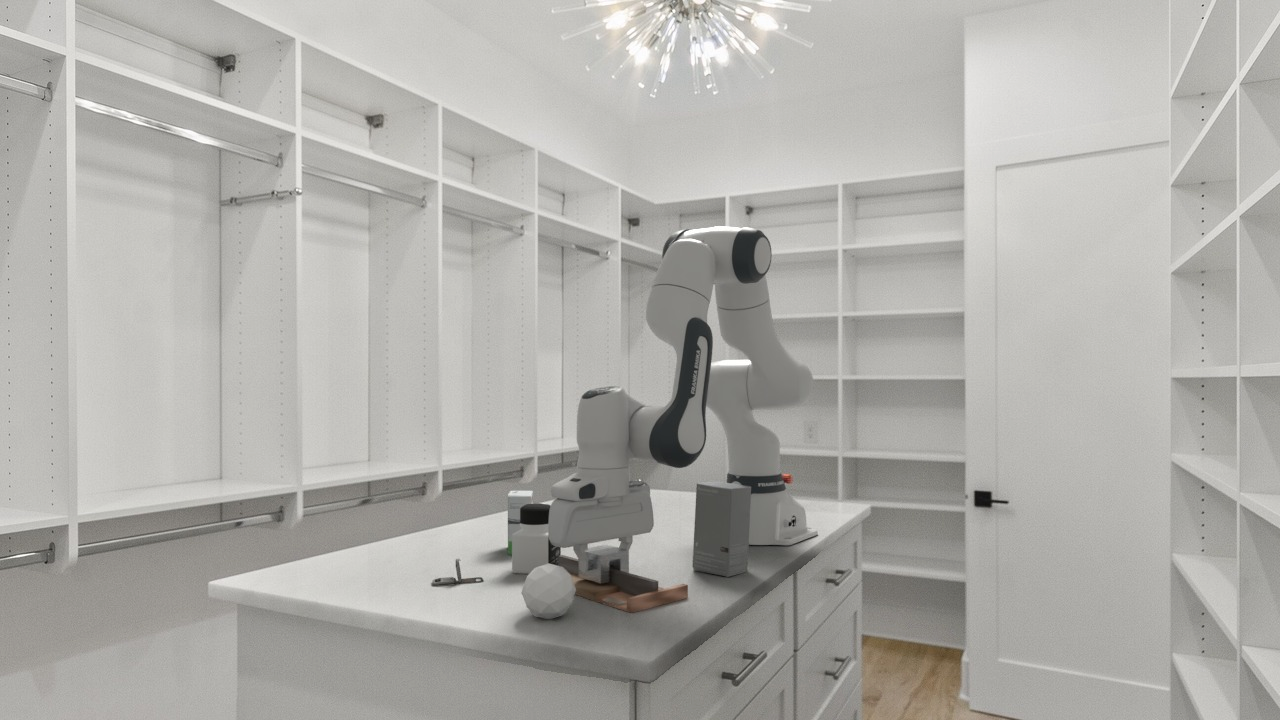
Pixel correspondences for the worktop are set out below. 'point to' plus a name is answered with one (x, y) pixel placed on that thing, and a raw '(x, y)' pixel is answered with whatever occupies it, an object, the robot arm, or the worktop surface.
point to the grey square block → (605, 562)
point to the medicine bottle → (533, 540)
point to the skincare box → (721, 528)
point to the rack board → (623, 589)
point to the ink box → (516, 512)
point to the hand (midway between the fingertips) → (603, 566)
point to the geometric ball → (548, 591)
